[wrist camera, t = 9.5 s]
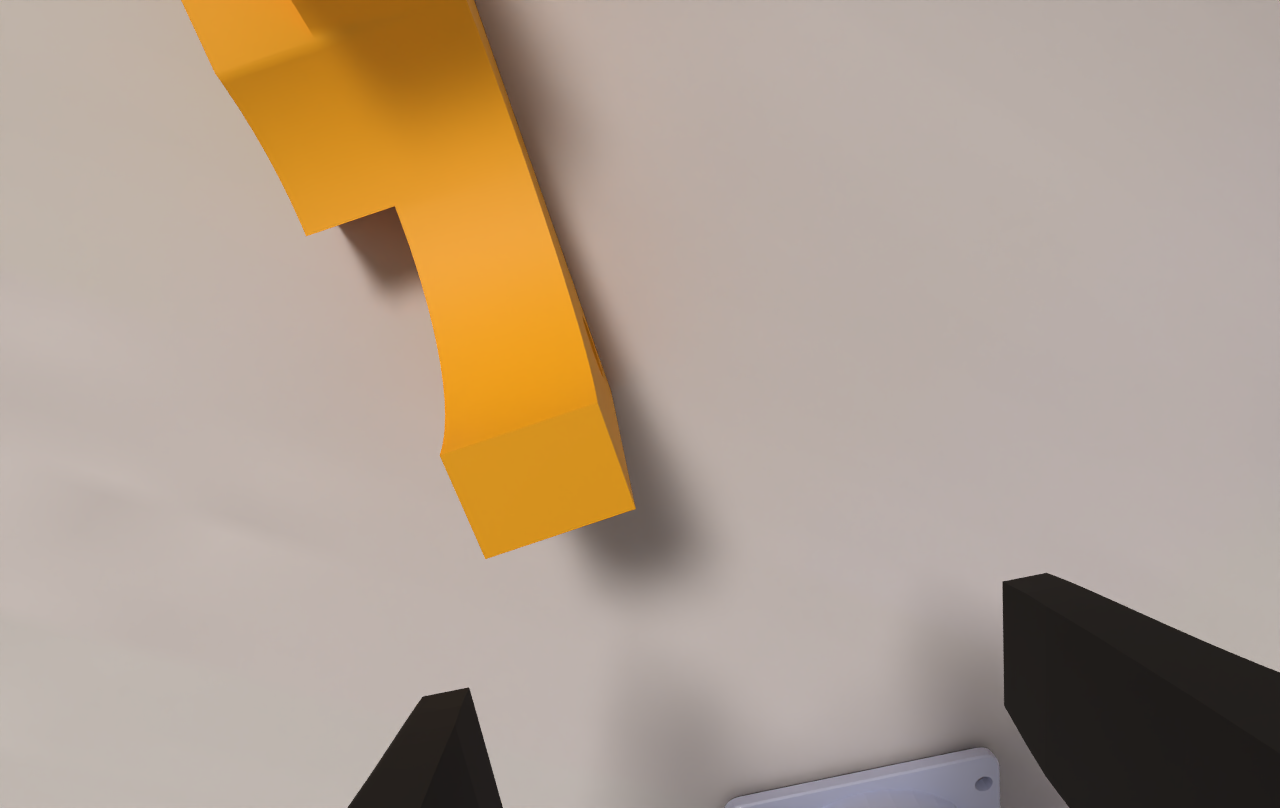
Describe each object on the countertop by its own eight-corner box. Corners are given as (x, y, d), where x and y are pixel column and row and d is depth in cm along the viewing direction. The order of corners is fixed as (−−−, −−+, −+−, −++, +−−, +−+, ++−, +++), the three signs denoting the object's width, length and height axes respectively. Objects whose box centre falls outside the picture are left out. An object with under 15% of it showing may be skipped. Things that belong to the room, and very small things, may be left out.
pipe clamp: (192, -109, 15) (-44, -264, 9) (410, -184, 15) (314, -388, 9) (437, 447, 19) (383, 593, 13) (610, 389, 19) (635, 508, 13)
